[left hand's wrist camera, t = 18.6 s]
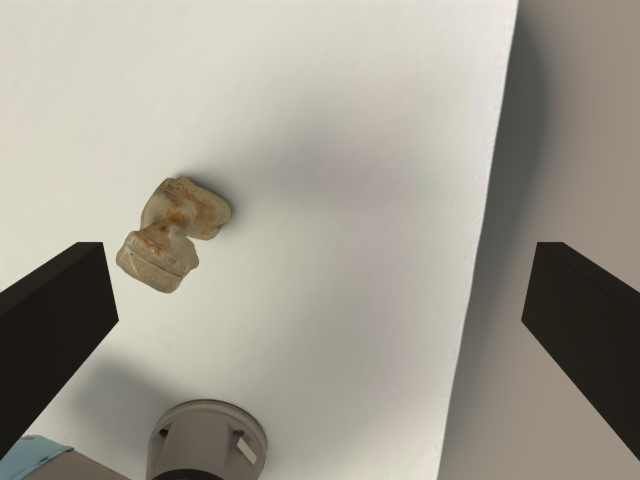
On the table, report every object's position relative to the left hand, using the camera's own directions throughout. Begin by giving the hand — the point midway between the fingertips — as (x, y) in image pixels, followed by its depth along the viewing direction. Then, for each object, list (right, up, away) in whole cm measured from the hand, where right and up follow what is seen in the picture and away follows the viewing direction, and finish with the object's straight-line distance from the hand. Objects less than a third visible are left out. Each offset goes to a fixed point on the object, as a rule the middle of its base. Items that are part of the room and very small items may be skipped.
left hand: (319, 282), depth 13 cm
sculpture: (-13, +5, +31) cm, 34 cm away
